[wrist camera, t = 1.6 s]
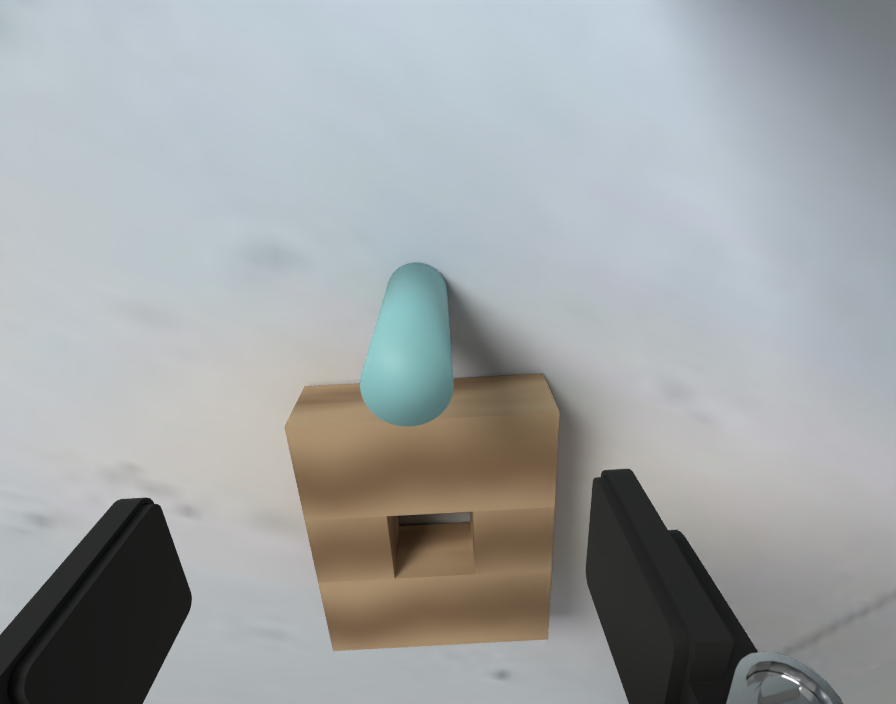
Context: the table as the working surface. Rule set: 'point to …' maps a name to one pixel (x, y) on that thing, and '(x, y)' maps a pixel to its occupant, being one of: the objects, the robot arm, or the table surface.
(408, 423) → the peg
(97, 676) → the robot arm
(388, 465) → the hole block
